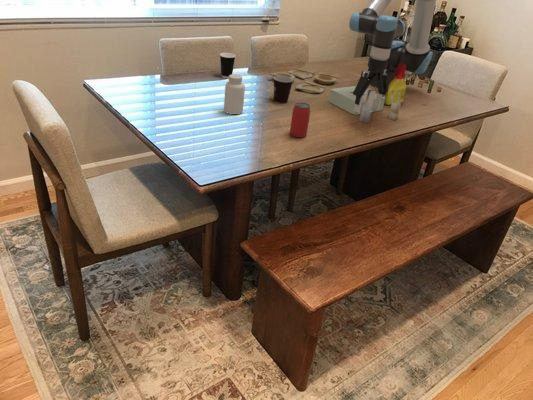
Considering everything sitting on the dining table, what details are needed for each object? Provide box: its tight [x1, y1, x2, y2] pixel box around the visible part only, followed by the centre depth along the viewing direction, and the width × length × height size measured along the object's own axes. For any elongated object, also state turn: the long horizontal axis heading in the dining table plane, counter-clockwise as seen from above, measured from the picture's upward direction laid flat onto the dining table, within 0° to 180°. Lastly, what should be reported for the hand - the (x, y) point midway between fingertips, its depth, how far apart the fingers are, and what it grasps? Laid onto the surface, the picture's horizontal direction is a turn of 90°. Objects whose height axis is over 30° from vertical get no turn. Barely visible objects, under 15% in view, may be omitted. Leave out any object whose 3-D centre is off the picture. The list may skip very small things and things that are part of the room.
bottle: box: [384, 63, 407, 106], centre depth 207 cm, size 12×6×20 cm, turn 120°
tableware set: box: [268, 67, 341, 94], centre depth 227 cm, size 35×29×4 cm
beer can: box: [289, 101, 311, 138], centre depth 165 cm, size 7×7×12 cm
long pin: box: [358, 87, 377, 124], centre depth 184 cm, size 4×4×14 cm
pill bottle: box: [223, 73, 246, 115], centre depth 177 cm, size 8×8×15 cm
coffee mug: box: [273, 76, 294, 104], centre depth 198 cm, size 12×9×10 cm
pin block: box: [327, 85, 385, 116], centre depth 202 cm, size 18×18×6 cm
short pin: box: [387, 102, 402, 121], centre depth 193 cm, size 4×4×7 cm
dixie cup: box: [219, 52, 236, 79], centre depth 218 cm, size 8×8×11 cm
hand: (366, 110), depth 185 cm, fingers open, 11 cm apart
